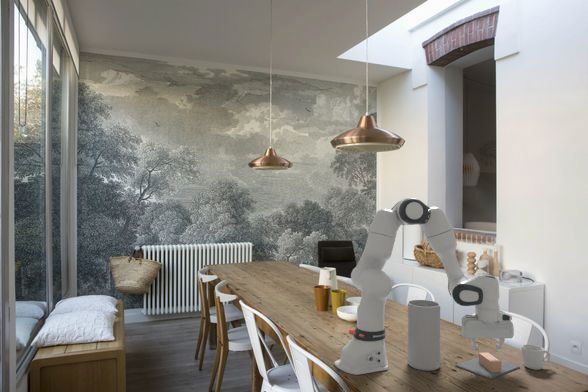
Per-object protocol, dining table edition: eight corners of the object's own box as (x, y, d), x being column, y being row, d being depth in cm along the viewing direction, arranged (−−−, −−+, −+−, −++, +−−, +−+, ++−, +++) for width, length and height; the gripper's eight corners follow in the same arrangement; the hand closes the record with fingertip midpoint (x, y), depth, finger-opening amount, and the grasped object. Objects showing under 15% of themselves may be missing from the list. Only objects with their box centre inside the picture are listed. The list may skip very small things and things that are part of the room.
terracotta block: (478, 362, 173) (491, 372, 163) (478, 352, 173) (491, 361, 163) (488, 362, 173) (501, 372, 163) (488, 352, 173) (501, 361, 164)
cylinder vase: (415, 357, 180) (415, 298, 181) (444, 364, 173) (444, 302, 173) (402, 366, 171) (402, 303, 171) (433, 374, 163) (433, 308, 163)
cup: (543, 363, 174) (543, 344, 174) (556, 371, 166) (556, 350, 166) (517, 363, 173) (517, 344, 174) (529, 371, 165) (529, 351, 166)
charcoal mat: (490, 379, 158) (490, 377, 158) (455, 366, 171) (455, 364, 171) (519, 367, 169) (519, 366, 169) (484, 356, 182) (484, 354, 182)
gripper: (465, 317, 167) (465, 352, 166) (516, 316, 168) (516, 351, 168) (458, 312, 173) (458, 346, 173) (507, 312, 174) (507, 346, 174)
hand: (487, 349), depth 170 cm, fingers open, 8 cm apart
